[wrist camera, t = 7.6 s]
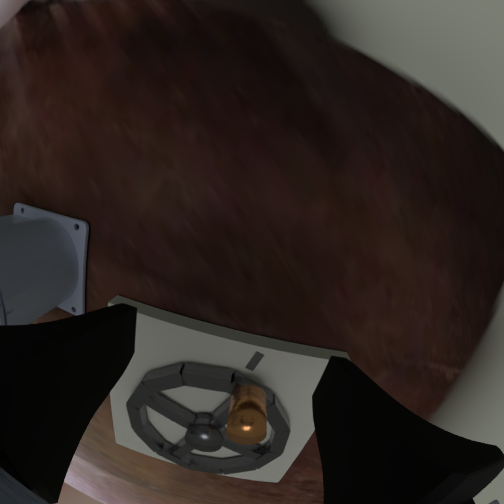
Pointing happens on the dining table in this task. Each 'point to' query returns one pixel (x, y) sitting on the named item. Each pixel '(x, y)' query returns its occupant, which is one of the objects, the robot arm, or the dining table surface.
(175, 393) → the base plate
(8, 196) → the dining table surface
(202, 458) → the handwheel
